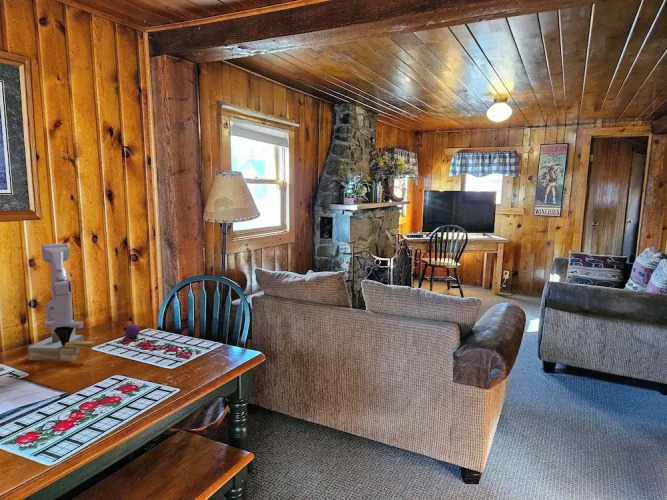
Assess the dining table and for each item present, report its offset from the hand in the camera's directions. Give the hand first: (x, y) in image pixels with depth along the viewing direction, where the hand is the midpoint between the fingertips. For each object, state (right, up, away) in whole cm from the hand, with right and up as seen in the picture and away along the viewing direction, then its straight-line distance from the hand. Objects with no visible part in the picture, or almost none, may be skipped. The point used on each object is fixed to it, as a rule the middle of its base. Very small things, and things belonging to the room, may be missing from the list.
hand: (65, 345), depth 169 cm
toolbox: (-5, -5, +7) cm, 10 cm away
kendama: (+10, -2, +34) cm, 36 cm away
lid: (-8, -2, +7) cm, 10 cm away
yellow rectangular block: (+6, 0, 0) cm, 6 cm away
